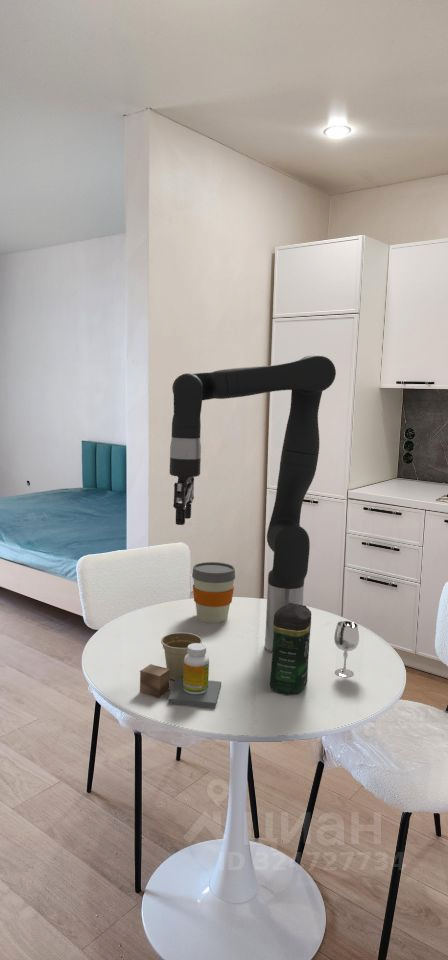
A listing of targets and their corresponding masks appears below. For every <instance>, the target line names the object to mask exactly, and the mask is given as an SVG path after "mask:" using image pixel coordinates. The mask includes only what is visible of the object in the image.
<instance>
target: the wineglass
mask: <svg viewBox="0 0 448 960" xmlns="http://www.w3.org/2000/svg"><path fill="white" fill-rule="evenodd" d="M334 630H335V631H334V637H333V638H334V639H333V640H334V641H333V642H334V643H335V646H336V647H337V649H339V650H341V651H342V652H343V654H342V655H343V667H342V668H337V669H335V670H334V673H335V674H336V675H337V676H340V677H344V678H350V676H351V677H353V676H354V674H355V673H354V671H353V670H351V669H348V668H347V667H346V666H347V659H348V655H349V654H348V652H350V651H354V650H356V649H357V647H358V646H359V643H360V631H359V627H358V623H356V622H354V621H350V620H349V621H348V620H341V621H338V622H337V624H336V627H335V629H334Z"/></svg>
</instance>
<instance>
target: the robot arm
mask: <svg viewBox="0 0 448 960" xmlns="http://www.w3.org/2000/svg"><path fill="white" fill-rule="evenodd" d="M336 375H337V371H336V366H335V364H334V363H333V360H331V359H330V358H329V357H328V356H325V355H323V354H310V355H306V356H304V357H302V358H300V359H299V360H295V361H291V362H285V363H281V364H274V365H264V366H263V365H262V366H248V367H247V366H245V367H235V368H226V369H219V370H215V371H211V372H198V373H186V372H185V373H183V374H181V375H179V376H177V377H176V378H175V380H174V381H173V382H172V393H173V416H172V422H171V441H170V446H169V447H170V448H169V449H170V450H169V475H170V476H173V477H177V482H174V484H173V487H174V488H173V489H174V490H173V505H172V507H173V508H174V509H175V525H177V526H184V525H186V524H185V523H186V520H188V519H191V517H192V504H193V502H194V501H193V500H194V498H195V497H194V493H195V492H194V491H195V488H194V487H195V478H197V477H199V476H200V475H201V460H202V458H201V457H202V455H201V454H202V445H201V443H202V442H201V428H202V426H201V413H202V406H203V401H208V400H213V399H217V400H225V399H234V398H242V397H243V398H244V397H249V396H254V395H259V394H265V393H271V392H272V393H273V392H279V391H291V395H290V396H291V397H290V408H289V415H288V418H287V423H286V427H285V432H284V433H285V434H284V438H283V443H282V450H281V455H280V461H279V462H280V463H279V471H278V477H277V478H278V479H277V486H276V491H275V501H274V505H273V510H272V514H271V516H270V520H269V524H268V527H267V532H266V533H267V534H266V541H267V544H268V546H269V549H270V550H271V551H272V552H273V563H272V570H270V571H268V575H267V593H266V596H267V597H266V612H265V613H266V617H265V635H264V636H265V637H264V648H265V650H267V651H268V652H270V653H272V648H273V622H274V615H275V613H276V612H277V610H278V609H280V608H281V607H283V606H285V605H287V604H289V603H294V604H299V605H304V592H305V591H304V590H305V588H304V587H305V579H306V577H307V574H308V568H309V558H310V547H311V545H310V544H311V542H310V537H309V534H308V532H307V531H306V529H305V528H303V527H302V526H301V525H300V523H301V512H302V506H303V504H304V503H303V502H304V500H305V499H304V498H305V497H306V495H307V493H308V492H309V491H308V490H309V488H310V487H311V484H312V483H313V480H314V479H315V475H316V471H317V466H318V461H319V454H320V430H319V411H320V410H319V409H320V403H321V399H322V395H323V392H324V391H326V390H327V389H329V388H330V386H332V385H333V383H334V381H335V379H336Z"/></svg>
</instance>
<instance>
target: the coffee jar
mask: <svg viewBox="0 0 448 960" xmlns="http://www.w3.org/2000/svg"><path fill="white" fill-rule="evenodd" d="M311 628H312V612H311V609H310V608H309V607H307V605H304V604H303V605H299V604H294V603H289V604H287V605H285V606H283V607H281V608H280V609H278V610H277V612H276V613H275V615H274V622H273V648H272V652H271V664H270V665H271V666H270V675H269V676H270V677H269V688H270V689H271V690H273V691H274V692H277V693H279V694H282V695H284V696H285V695H286V696H288V695H300V694H301V693H302V692H303V691H304V690H305V688H306V687H307V685H308V675H309V674H308V672H309V656H310V655H309V654H310V653H309V652H310V639H311V638H310V637H311Z"/></svg>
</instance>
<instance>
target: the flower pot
mask: <svg viewBox="0 0 448 960" xmlns="http://www.w3.org/2000/svg"><path fill="white" fill-rule="evenodd" d="M160 642H161V644H162V648H163V650H164V658H165V666H166V667H165V668H167V669H170V679H171V680H173V681H175V682H176V679H177V678H183V677H184V658H185V656H186V655H187V654H188V652H187V650H188V645H189V644H193V643H200V644H203V639H202V638H201V636H199V635H197V634H194V633H191V632H172V633H169V634H166V635H163V636H162V637H161V639H160Z"/></svg>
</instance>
